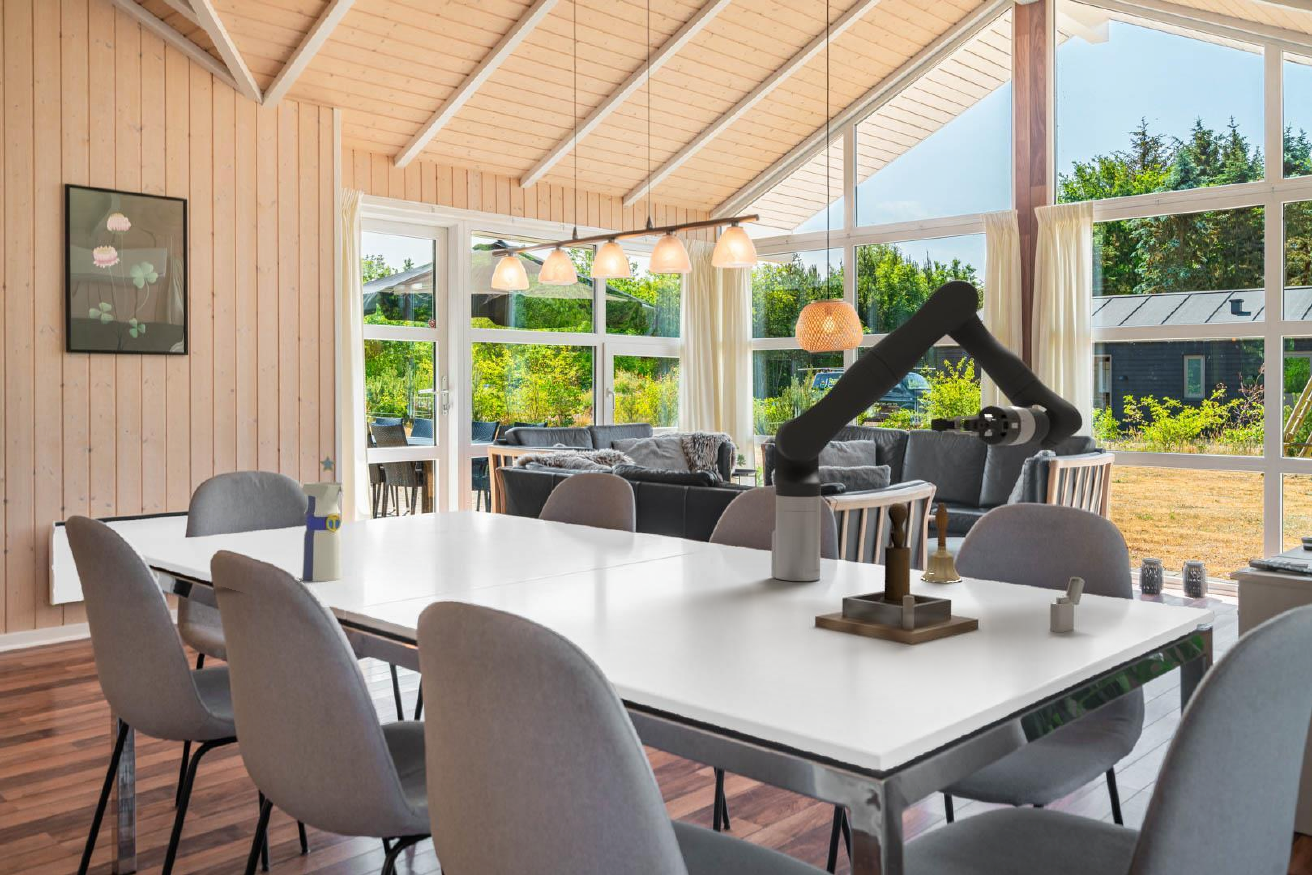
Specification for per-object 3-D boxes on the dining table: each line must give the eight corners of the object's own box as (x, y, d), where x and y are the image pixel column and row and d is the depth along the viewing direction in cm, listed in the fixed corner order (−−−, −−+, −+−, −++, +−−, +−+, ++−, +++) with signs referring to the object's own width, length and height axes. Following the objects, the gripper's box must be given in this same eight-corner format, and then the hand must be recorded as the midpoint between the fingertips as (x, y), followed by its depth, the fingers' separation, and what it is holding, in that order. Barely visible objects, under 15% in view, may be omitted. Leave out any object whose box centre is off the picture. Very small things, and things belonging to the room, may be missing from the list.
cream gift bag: (354, 577, 212) (354, 454, 212) (320, 582, 205) (320, 455, 205) (326, 574, 217) (327, 454, 216) (292, 579, 210) (293, 454, 209)
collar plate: (815, 625, 165) (815, 584, 165) (883, 612, 177) (883, 574, 177) (911, 644, 152) (912, 599, 152) (978, 628, 164) (978, 587, 164)
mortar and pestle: (915, 614, 167) (916, 502, 167) (921, 622, 161) (922, 505, 161) (873, 613, 168) (874, 501, 168) (877, 620, 162) (879, 504, 161)
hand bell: (961, 584, 210) (962, 505, 210) (919, 581, 213) (920, 503, 213) (963, 578, 218) (964, 502, 218) (922, 576, 221) (923, 501, 221)
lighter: (1059, 632, 161) (1060, 580, 161) (1049, 630, 163) (1050, 579, 163) (1084, 627, 166) (1085, 577, 166) (1074, 625, 167) (1074, 575, 167)
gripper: (974, 406, 204) (920, 404, 194) (1039, 405, 193) (985, 403, 183) (973, 444, 204) (920, 444, 195) (1038, 446, 193) (985, 446, 183)
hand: (951, 425), depth 189 cm, fingers open, 8 cm apart
